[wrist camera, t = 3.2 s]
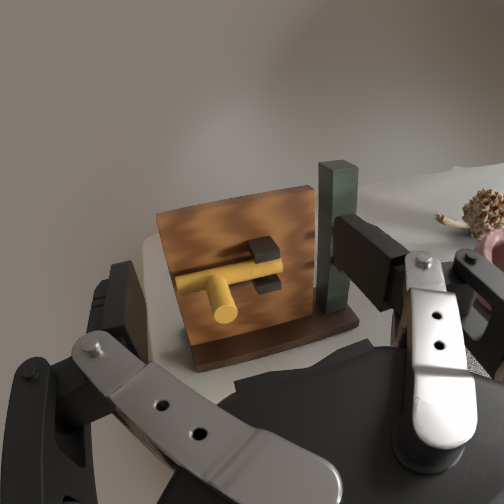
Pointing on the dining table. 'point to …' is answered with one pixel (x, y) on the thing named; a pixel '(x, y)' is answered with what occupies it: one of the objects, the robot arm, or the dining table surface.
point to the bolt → (225, 284)
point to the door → (261, 250)
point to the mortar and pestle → (492, 253)
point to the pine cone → (480, 214)
